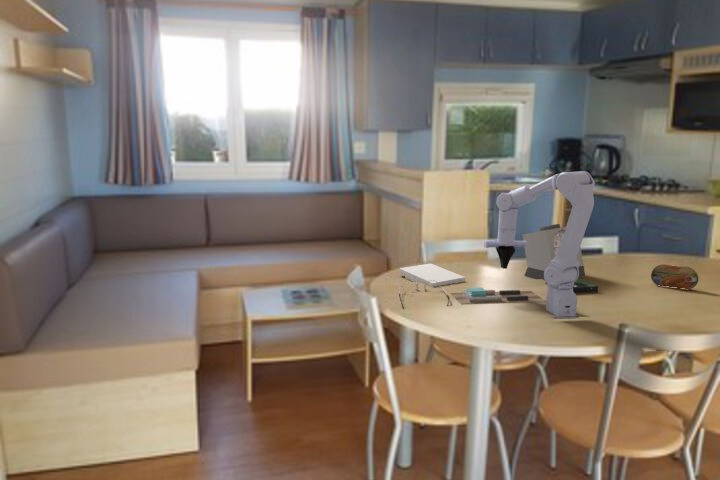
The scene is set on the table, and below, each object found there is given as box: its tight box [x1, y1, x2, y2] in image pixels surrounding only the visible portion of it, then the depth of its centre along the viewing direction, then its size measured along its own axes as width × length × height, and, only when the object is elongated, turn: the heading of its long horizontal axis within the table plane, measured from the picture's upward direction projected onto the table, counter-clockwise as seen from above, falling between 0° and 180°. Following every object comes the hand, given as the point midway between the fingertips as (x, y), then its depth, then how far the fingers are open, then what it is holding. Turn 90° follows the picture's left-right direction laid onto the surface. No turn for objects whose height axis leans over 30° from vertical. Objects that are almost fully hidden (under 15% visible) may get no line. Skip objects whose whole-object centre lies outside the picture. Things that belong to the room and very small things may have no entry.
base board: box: [450, 290, 547, 306], centre depth 187 cm, size 12×29×1 cm, turn 99°
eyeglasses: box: [398, 279, 450, 309], centre depth 185 cm, size 16×19×5 cm
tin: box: [650, 263, 699, 290], centre depth 206 cm, size 15×3×8 cm, turn 62°
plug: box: [466, 287, 487, 296], centre depth 186 cm, size 4×5×3 cm
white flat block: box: [398, 263, 466, 288], centre depth 210 cm, size 15×3×20 cm
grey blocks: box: [498, 289, 528, 301], centre depth 188 cm, size 7×7×1 cm
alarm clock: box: [522, 223, 586, 281], centre depth 218 cm, size 20×16×20 cm
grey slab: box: [461, 289, 502, 302], centre depth 186 cm, size 7×11×2 cm, turn 99°
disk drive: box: [545, 278, 599, 295], centre depth 202 cm, size 10×3×15 cm
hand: (503, 267), depth 192 cm, fingers closed
